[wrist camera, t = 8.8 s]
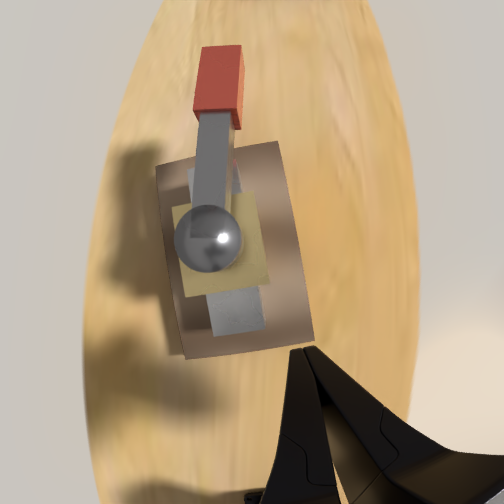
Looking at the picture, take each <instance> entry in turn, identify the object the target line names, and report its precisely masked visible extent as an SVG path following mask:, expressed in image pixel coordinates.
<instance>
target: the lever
mask: <svg viewBox="0 0 504 504" xmlns="http://www.w3.org/2000/svg"><path fill="white" fill-rule="evenodd" d="M244 74H245V68H244V61H243V54H242V47H241V45H226V46H210V47H202V51H201V57H200V63H199V69H198V76H197V82H196V89H195V96H194V104H193V112H194V114H195V116H196V118H197V120H198V122H199V128H198V138H197V148H196V159H195V170H194V182H193V196H192V209H191V210H189V211H188V212H187V213H185V214H184V215H183V216H182V218H181V219H180V220H179V222H178V224H177V226H176V229H175V233H174V246H175V250H176V252H177V255H178V256H179V258H180V260H181V261H182V262H183V263H184V264H185V265H186V266H187V267H189V268H191V269H192V270H195V271H198V272H203V273H211V272H220V271H224V270H226V269H228V268H230V267H232V266H233V265H234V264H235V263H236V262H237V261H238V259H239V258H240V256H241V254H242V252H243V248H244V235H243V232H242V229H241V227H240V226H239V224H238V223H237V221H236V220H235V218H234V217H233V216H232V215H231V214H230V210H231V189H232V170H233V152H234V134H235V130H241V126H242V108H243V90H244Z"/></svg>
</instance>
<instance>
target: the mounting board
mask: <svg viewBox="0 0 504 504" xmlns="http://www.w3.org/2000/svg"><path fill="white" fill-rule="evenodd" d="M195 159H196V156H195V157H191V158H187V159H182V160H178V161H174V162H170V163H166V164H162V165H158V166H155V168H156V178H157V188H158V198H159V207H160V215H161V223H162V231H163V238H164V245H165V252H166V259H167V265H168V272H169V278H170V284H171V289H172V295H173V301H174V306H175V312H176V317H177V322H178V327H179V332H180V337H181V341H182V346H183V351H184V355H185V360H188V359H197V358H207V357H215V356H223V355H231V354H238V353H245V352H252V351H259V350H265V349H271V348H277V347H283V346H289V345H294V344H300V343H305V342H310V341H315V339H314V332H313V325H312V319H311V312H310V306H309V300H308V294H307V288H306V282H305V276H304V270H303V264H302V259H301V253H300V248H299V242H298V237H297V231H296V226H295V221H294V216H293V211H292V206H291V201H290V196H289V191H288V186H287V181H286V176H285V172H284V167H283V162H282V158H281V153H280V149H279V144H278V141H273V142H267V143H261V144H255V145H250V146H244V147H239V148H234V152H233V160H234V159H236V162H237V165H238V168H239V171H240V175H241V181H242V186H243V192H249V191H254V196H255V201H256V206H257V211H258V217H259V222H260V228H261V233H262V239H263V244H264V250H265V256H266V261H267V267H268V273H269V279H270V284H265V285H260V289H261V295H262V301H263V306H264V312H265V318H266V326H265V329H263V330H257V331H250V332H244V333H237V334H230V335H223V336H216V337H214V336H213V331H212V325H211V320H210V315H209V310H208V304H207V299H206V294H205V295H198V296H192V297H185V292H184V287H183V281H182V275H181V269H180V262H179V256H178V255H177V252H176V250H175V246H174V233H175V229H174V222H173V214H172V207H175V206H179V205H184V204H188V203H191V198H190V190H189V183H188V175H187V169H191V168H195Z"/></svg>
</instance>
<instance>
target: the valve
mask: <svg viewBox="0 0 504 504" xmlns="http://www.w3.org/2000/svg"><path fill="white" fill-rule="evenodd" d="M194 170H195V168H191V169H187V175H188V183H189V190H190V198H191V203H188V204H184V205H179V206H175V207H172V214H173V222H174V229H176V226H177V224H178V222H179V220H180V219H181V218H182V216H183V215H184V214H185V213H187V212H188V211H189V210H191V209H192V196H193V182H194ZM230 214H231V215H232V216H233V217H234V218H235V220H236V221H237V223H238V224H239V226H240V227H241V229H242V232H243V235H244V248H243V252H242V254H241V256H240V258H239V259H238V261H237V262H236V263H235V264H234V265H233V266H232V267H230V268H228V269H226V270H224V271H220V272H211V273H203V272H198V271H195V270H192V269H191V268H189V267H187V266H186V265H185V264H184V263H183V262H182V261H181V260H180V258H179V262H180V269H181V275H182V281H183V287H184V292H185V297H192V296H198V295H205V294H206V299H207V304H208V310H209V315H210V320H211V325H212V331H213V336H214V337H216V336H223V335H230V334H237V333H244V332H250V331H257V330H263V329H265V326H266V318H265V312H264V306H263V301H262V295H261V289H260V285H265V284H270V279H269V273H268V267H267V261H266V256H265V250H264V244H263V239H262V233H261V228H260V222H259V217H258V211H257V206H256V201H255V196H254V191H249V192H243V186H242V181H241V175H240V171H239V168H238V165H237V162H236V159H234V160H233V170H232V189H231V210H230Z"/></svg>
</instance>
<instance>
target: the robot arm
mask: <svg viewBox="0 0 504 504" xmlns="http://www.w3.org/2000/svg"><path fill="white" fill-rule="evenodd" d="M332 461H333V462H332ZM333 464H334V466H335V469H336V471H337V474H338V477H339V479H340V482H341V484H342V487H343V490H344V492H345V495H346V497H347V500H348V502H349V504H504V455H487V454H474V453H463V452H457V451H453V450H450V449H447V448H445V447H443V446H441V445H440V444H438V443H436V442H435V441H433V440H431V439H430V438H428V437H427V436H425V435H424V434H422V433H420V432H419V431H417V430H415V429H414V428H413V427H411V426H410V425H408V424H407V423H405V422H404V421H402V420H401V419H400V418H399V417H397V416H396V415H395V414H394V413H392V412H391V411H390V410H389V409H388V408H387V407H384V405H383V404H382V403H381V402H379V401H378V400H377V399H376V398H375V397H373V396H372V395H371V394H370V393H369V392H368V391H366V390H365V389H364V388H363V387H362V386H361V385H360V384H358V383H357V382H356V381H355V380H354V379H353V378H351V377H350V376H349V375H348V374H347V373H346V372H345V371H343V370H342V369H341V368H340V367H339V366H338V365H337V364H335V363H334V362H333V361H332V360H331V359H330V358H329V357H327V356H326V355H325V354H324V353H323V352H322V351H321V350H320V349H318V348H317V347H316V346H314V345H313V346H308V347H304V348H303V349H302V348H298V349H292V350H291V351H290V355H289V364H288V373H287V381H286V389H285V397H284V405H283V412H282V419H281V427H280V435H279V439H278V446H277V451H276V456H275V460H274V463H273V467H272V470H271V473H270V476H269V479H268V482H267V485H266V488H265V490H264V492H259V493H248V494H245V496H244V501H245V504H341V501H340V498H339V494H338V489H337V487H336V486H337V483H336V478H335V472H334V467H333Z"/></svg>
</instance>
